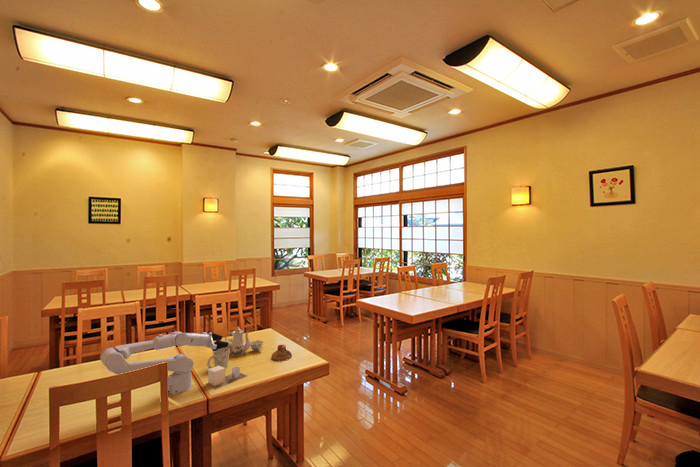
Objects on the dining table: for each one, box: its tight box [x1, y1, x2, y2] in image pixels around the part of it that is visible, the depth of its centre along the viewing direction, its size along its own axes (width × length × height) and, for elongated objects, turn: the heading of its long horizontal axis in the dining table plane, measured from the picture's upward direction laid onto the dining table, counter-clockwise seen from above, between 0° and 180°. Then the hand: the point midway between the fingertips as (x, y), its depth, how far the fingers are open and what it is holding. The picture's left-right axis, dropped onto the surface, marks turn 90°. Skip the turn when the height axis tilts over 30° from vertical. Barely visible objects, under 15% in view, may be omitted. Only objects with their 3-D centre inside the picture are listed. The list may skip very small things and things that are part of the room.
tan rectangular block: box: [207, 366, 226, 386], centre depth 153 cm, size 5×5×7 cm
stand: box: [204, 372, 248, 390], centre depth 156 cm, size 18×9×1 cm, turn 145°
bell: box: [271, 344, 293, 362], centre depth 189 cm, size 12×12×7 cm
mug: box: [206, 347, 231, 369], centre depth 171 cm, size 8×13×10 cm, turn 149°
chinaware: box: [224, 326, 264, 357], centre depth 199 cm, size 28×17×17 cm, turn 84°
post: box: [231, 365, 241, 379], centre depth 159 cm, size 3×3×5 cm
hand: (224, 341), depth 163 cm, fingers open, 7 cm apart
